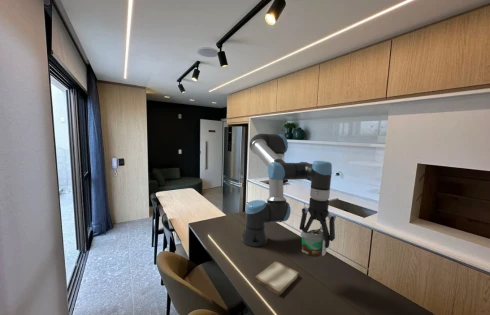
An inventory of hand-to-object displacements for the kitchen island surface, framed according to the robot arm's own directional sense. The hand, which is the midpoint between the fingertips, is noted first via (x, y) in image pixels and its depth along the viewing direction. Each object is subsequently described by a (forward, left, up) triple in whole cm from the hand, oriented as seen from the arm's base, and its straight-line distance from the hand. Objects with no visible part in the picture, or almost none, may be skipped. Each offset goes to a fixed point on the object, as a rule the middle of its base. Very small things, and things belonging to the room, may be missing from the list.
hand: (314, 250), depth 86 cm
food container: (0, 0, -2) cm, 2 cm away
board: (-12, -10, -14) cm, 21 cm away
